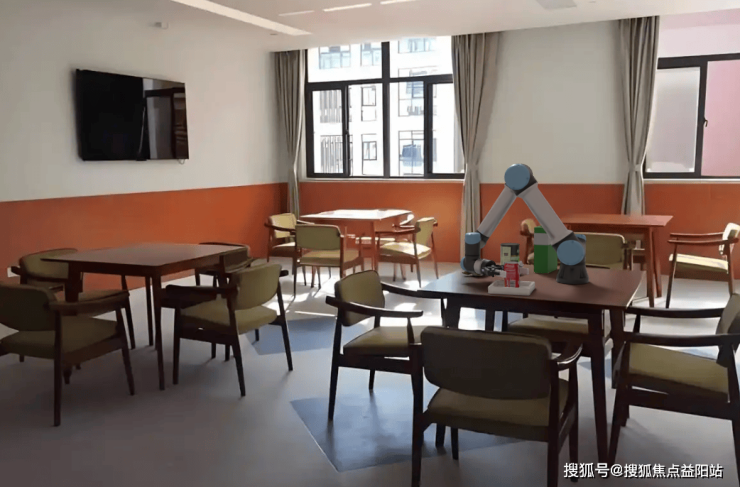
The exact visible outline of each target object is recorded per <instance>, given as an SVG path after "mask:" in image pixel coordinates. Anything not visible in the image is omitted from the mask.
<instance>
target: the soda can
mask: <svg viewBox="0 0 740 487" xmlns="http://www.w3.org/2000/svg"><path fill="white" fill-rule="evenodd" d="M505 263H506V264H505V265H504V271H506V278H504V277H503V280H504V287H514V288H519V286H520V281H521V275H520V266H519V264H518V262H515V261H508V262H505Z"/></svg>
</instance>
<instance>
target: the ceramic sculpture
mask: <svg viewBox="0 0 740 487" xmlns="http://www.w3.org/2000/svg"><path fill="white" fill-rule="evenodd" d="M461 273H462V274H463V275H466V276H469V275H472V276H474V277H481V274H477V273H471V272H467V271H464V270H463V271H462V272H461Z"/></svg>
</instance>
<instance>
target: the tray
mask: <svg viewBox="0 0 740 487" xmlns="http://www.w3.org/2000/svg"><path fill="white" fill-rule="evenodd" d="M535 289H536V281H528V280H527V281H525V280H524V281H523V280H520V286H519V288H514V287H504V279H502V280H500V279H495V280H494V281H493V282H492V283H490V285H488V286H487V290H488V292H487V294H491V295H493V294H495V295H510V296H511V295H512V296H513V295H515V296H530V295H531V294H532V293H533V291H534V290H535Z"/></svg>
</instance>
